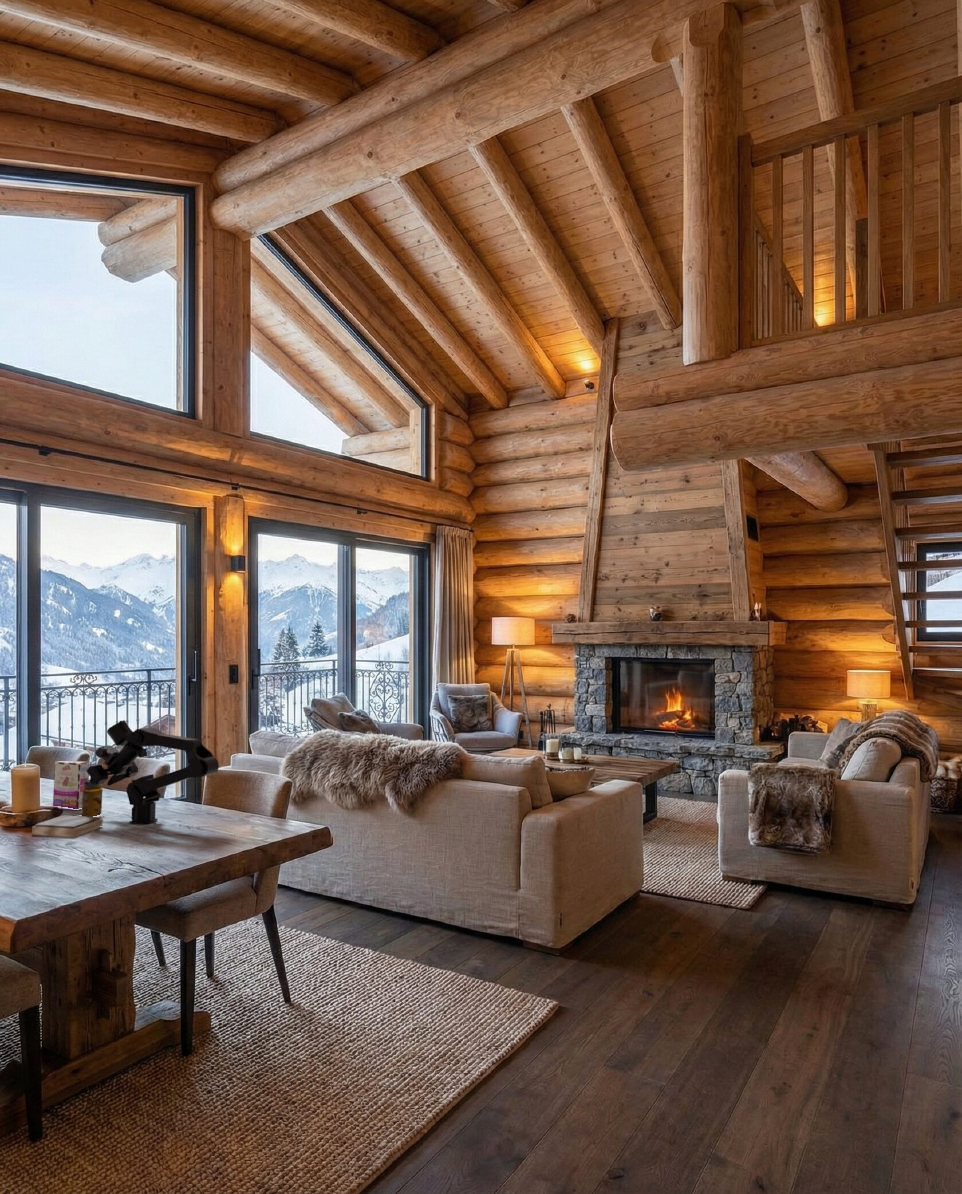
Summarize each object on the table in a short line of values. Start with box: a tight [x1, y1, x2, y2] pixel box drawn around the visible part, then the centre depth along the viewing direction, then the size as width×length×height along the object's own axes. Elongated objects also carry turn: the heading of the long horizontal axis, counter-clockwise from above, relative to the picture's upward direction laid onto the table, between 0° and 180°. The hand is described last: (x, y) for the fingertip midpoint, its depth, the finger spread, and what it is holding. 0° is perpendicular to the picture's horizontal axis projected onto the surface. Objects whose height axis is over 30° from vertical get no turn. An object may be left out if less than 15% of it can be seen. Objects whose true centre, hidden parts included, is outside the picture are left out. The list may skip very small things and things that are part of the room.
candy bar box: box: [52, 760, 90, 809], centre depth 287 cm, size 11×5×16 cm, turn 73°
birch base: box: [31, 814, 103, 838], centre depth 255 cm, size 14×14×3 cm
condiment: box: [81, 779, 103, 817], centre depth 275 cm, size 7×8×12 cm
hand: (98, 787), depth 274 cm, fingers open, 9 cm apart
